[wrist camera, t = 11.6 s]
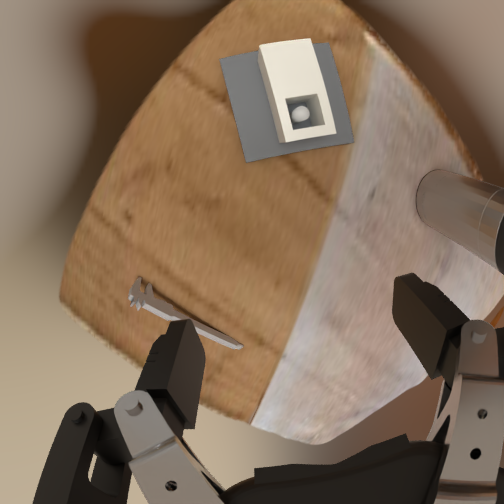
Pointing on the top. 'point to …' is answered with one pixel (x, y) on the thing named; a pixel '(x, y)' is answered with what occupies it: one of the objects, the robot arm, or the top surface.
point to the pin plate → (260, 115)
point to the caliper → (174, 313)
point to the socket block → (295, 87)
